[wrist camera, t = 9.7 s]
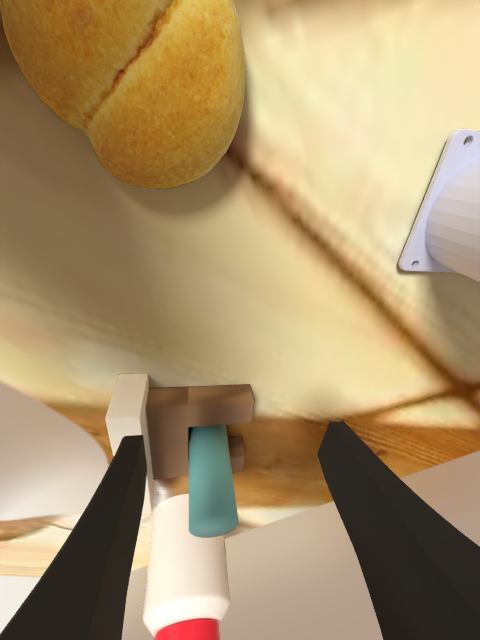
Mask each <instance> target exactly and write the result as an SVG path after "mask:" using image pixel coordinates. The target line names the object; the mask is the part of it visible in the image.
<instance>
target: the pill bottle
mask: <svg viewBox="0 0 480 640" xmlns="http://www.w3.org/2000/svg"><path fill="white" fill-rule="evenodd" d="M144 600H145V601H144V610H143V623H144V625H145V626H146V628H147V629H148V631H149V632H150V633H151V635H152V636H153V637H155V638H154V640H220V635H219V624H220V623H221V621H222V620H223V618H224V616H225V615H226V612H227V611H228V609H229V607H230V596H229V585H228V573H227V562H226V550H225V539H224V535H221V536H217V537H211V538H201V537H196V536H194V535H192V534H191V533H190V532H189V493H186V494H181V495H176V496H173V497H171V498H168V499H166V500H164V501H163V502H162V503H160V504H159V505H158V506H157V507H156V508H155V510H154V513H153V520H152V530H151V540H150V550H149V560H148V571H147V580H146V589H145V599H144Z"/></svg>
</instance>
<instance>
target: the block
mask: <svg viewBox="0 0 480 640" xmlns="http://www.w3.org/2000/svg"><path fill="white" fill-rule="evenodd" d="M145 409H146V418H147V427H148V436H149V445H150V454H151V463H152V472H153V480H156V479H166V478H177V477H187V476H189V440H188V427H197V426H212V425H228V424H244V423H251V420H252V415H253V409H254V399H253V395H252V391H251V387H250V384H247V385H221V386H195V387H169V388H149V391H148V397H147V403H146V408H145ZM228 446H229V454H230V461H231V469H232V472H240V471H243V467H244V461H245V452H244V446H243V440H242V437H229V438H228Z"/></svg>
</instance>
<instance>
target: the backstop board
mask: <svg viewBox="0 0 480 640" xmlns="http://www.w3.org/2000/svg"><path fill="white" fill-rule="evenodd" d="M148 391H149V383H148V374H119V377H118V380H117V383H116V386H115V389H114V392H113V395H112V399H111V402H110V405H109V408H108V411H107V414H106V418H105V420H106V425H107V429H108V434H109V438H110V443H111V447H112V452H113V456H115V453H116V451H117V449H118V447H119V445H120V442H121V440H122V438H123V437H124V436H132V435H143V438H144V446H145V454H146V462H147V477H146V488H145V498H144V504H143V509H142V514H151V513H152V507H153V497H154V488H155V480H153V472H152V463H151V454H150V445H149V436H148V427H147V418H146V409H145V408H146V403H147V397H148Z"/></svg>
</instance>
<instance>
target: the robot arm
mask: <svg viewBox="0 0 480 640" xmlns="http://www.w3.org/2000/svg"><path fill="white" fill-rule="evenodd" d="M466 137H467V142H466V144H465V145H464V140H465V139H466ZM414 261H415V263H414V264H413V265H412V263H413V262H414ZM398 266H399V268H400V269H402V270H405V271H425V272H449V273H460V274H463V275H465V276H467V277H469V278H471V279H474V280H476V281H478V282H480V131H475V130H468V129H459V130H455V131H454V132H453V133H452V134H451V135H450V136H449V138H448V140H447V143H446V145H445V148H444V150H443V153H442V155H441V158H440V160H439V163H438V165H437V168H436V170H435V173H434V175H433V178H432V180H431V183H430V185H429V188H428V190H427V193H426V195H425V198H424V200H423V203H422V205H421V208H420V210H419V213H418V215H417V218H416V220H415V223H414V225H413V228H412V230H411V233H410V235H409V238H408V240H407V243H406V245H405V248H404V250H403V253H402V255H401V258H400V260H399V264H398ZM318 457H319V460H320V464H321V467H322V471H323V474H324V477H325V480H326V483H327V485H328V488H329V490H330V492H331V495H332V497H333V500H334V502H335V504H336V507H337V509H338V511H339V514H340V516H341V519H342V521H343V523H344V525H345V528H346V530H347V533H348V535H349V537H350V540H351V542H352V544H353V547H354V550H355V552H356V554H357V557H358V560H359V563H360V566H361V569H362V572H363V575H364V578H365V581H366V584H367V587H368V590H369V593H370V597H371V599H372V603H373V606H374V609H375V612H376V616H377V619H378V622H379V625H380V629H381V633H382V636H383V639H384V640H480V547H479V546H478V545H477V544H475V543H474V542H473V541H471V540H470V539H469V538H468V537H466V536H465V535H464V534H462V533H461V532H460V531H459V530H457V529H456V528H455V527H454V526H452V525H451V524H450V523H449V522H448V521H446V520H445V519H444V518H443V517H442V516H440V515H439V514H438V513H437V512H436V511H435V510H433V509H432V508H431V507H430V506H429V505H428V504H427V503H425V502H424V501H423V500H422V499H421V498H420V497H419V496H418V495H417V494H415V493H414V492H413V491H412V490H411V489H410V488H409V487H408V486H407V485H406V484H405V483H404V482H403V481H401V479H400V478H398V477H397V476H396V475H395V474H394V473H393V472H392V471H391V470H390V469H389V468H388V467H387V466H386V465H385V464H384V463H383V462H382V461H381V460H380V459H379V458H378V457H377V456H376V455H375V454H374V453H373V451H372V450H371V449H370V448H369V447H368V446H367V445H366V444H365V443H364V442H363V441H362V440H361V439H360V438H359V437H358V436H357V435H356V434H355V433H354V432H353V431H352V430H351V429H350V427H349V426H348V425H347V424H346V423H345V422H344V421H342V422H330V423H329V425H328V428H327V431H326V433H325V436H324V438H323V441H322V443H321V446H320V449H319V451H318ZM146 477H147V462H146V454H145V446H144V438H143V435H132V436H124V437H123V438H122V440H121V442H120V445H119V447H118V449H117V451H116V453H115V456H114V458H113V460H112V462H111V464H110V466H109V468H108V470H107V471H106V473H105V475H104V477H103V479H102V481H101V483H100V485H99V486H98V488H97V490H96V492H95V494H94V495H93V497H92V499H91V501H90V502H89V504H88V506H87V508H86V509H85V511H84V512H83V514H82V516H81V517H80V519H79V521H78V522H77V524H76V525H75V527H74V529H73V530H72V532H71V534H70V535H69V537H68V538H67V540H66V542H65V543H64V545H63V546H62V548H61V549H60V551H59V552H58V554H57V555H56V557H55V558H54V560H53V561H52V563H51V564H50V566H49V567H48V569H47V570H46V571H45V573H44V574H43V576H42V577H41V579H40V580H39V582H38V583H37V584H36V586H35V587H34V589H33V590H32V592H31V593H30V594H29V596H28V597H27V598H26V600H25V601H24V603H23V604H22V605H21V607H20V608H19V609H18V611H17V612H16V614H15V615H14V616H13V618H12V619H11V620H10V622H9V623H8V624H7V626H6V627H5V628H4V630H3V631H2V633H1V634H0V640H121V638H122V629H123V620H124V612H125V603H126V596H127V589H128V583H129V577H130V572H131V567H132V562H133V556H134V551H135V546H136V541H137V536H138V530H139V525H140V520H141V515H142V509H143V504H144V498H145V488H146Z"/></svg>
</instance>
